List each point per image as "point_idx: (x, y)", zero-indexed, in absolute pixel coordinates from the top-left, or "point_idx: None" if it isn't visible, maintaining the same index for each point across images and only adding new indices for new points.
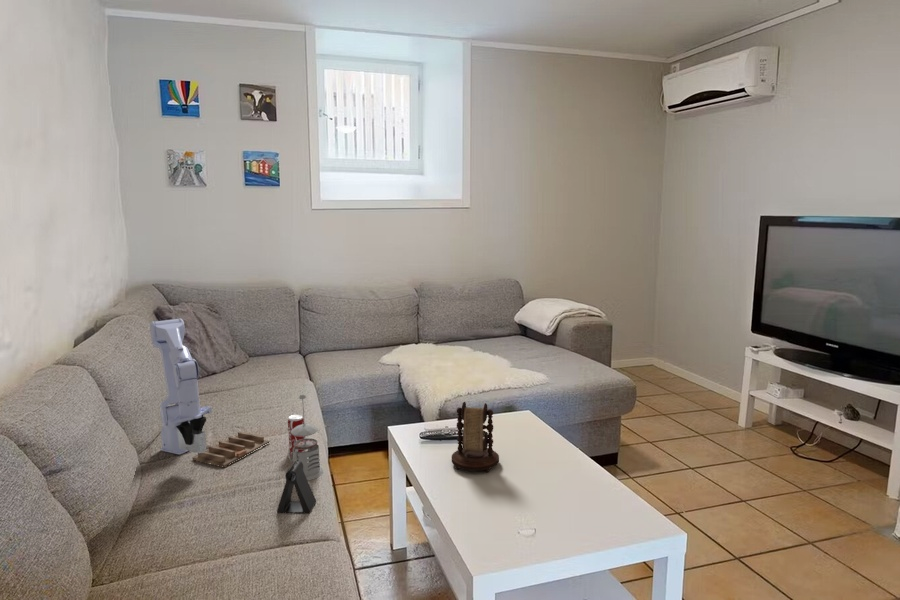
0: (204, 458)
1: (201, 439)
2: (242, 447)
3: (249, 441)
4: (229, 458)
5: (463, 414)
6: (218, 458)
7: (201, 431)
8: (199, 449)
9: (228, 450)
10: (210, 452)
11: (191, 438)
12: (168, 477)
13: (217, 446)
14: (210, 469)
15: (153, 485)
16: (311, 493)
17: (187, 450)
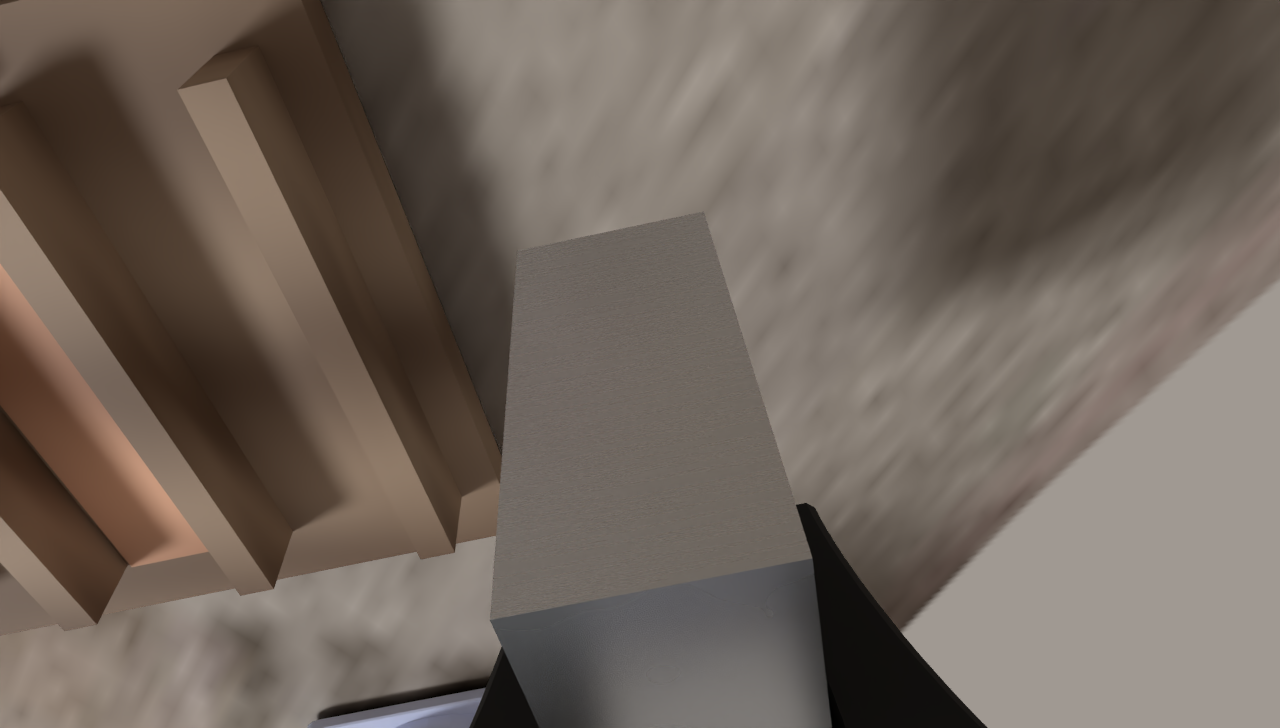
0: (424, 406)
1: (655, 422)
2: None
3: None
4: (106, 121)
5: None
6: (292, 176)
7: (556, 701)
8: (716, 259)
9: (38, 271)
10: (283, 501)
11: (821, 614)
12: (964, 310)
13: (141, 582)
14: (494, 83)
15: (1200, 250)
16: None
17: (453, 700)
